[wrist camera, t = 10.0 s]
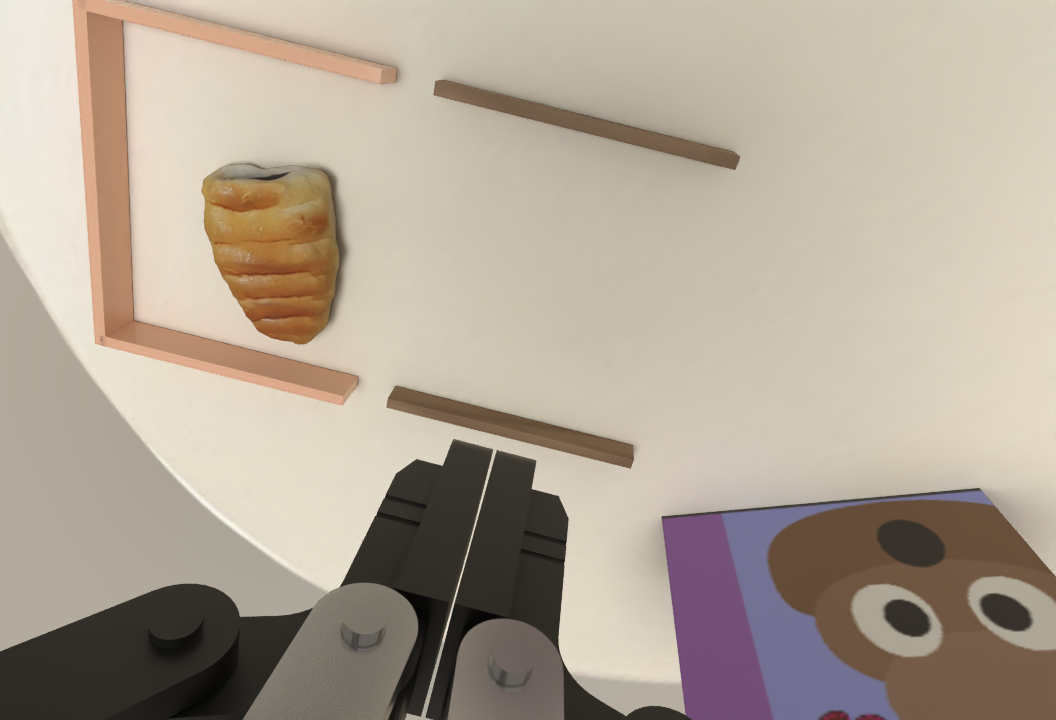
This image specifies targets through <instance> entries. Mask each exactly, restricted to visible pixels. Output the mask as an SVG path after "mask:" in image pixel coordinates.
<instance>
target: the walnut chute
mask: <svg viewBox="0 0 1056 720" xmlns="http://www.w3.org/2000/svg"><path fill="white" fill-rule="evenodd" d="M434 95H435V96H439V97H443V98H447V99H451V100H455V101H460V102H464V103H468V104H472V105H476V106H480V107H484V108H488V109H492V110H496V111H500V112H504V113H508V114H512V115H516V116H520V117H524V118H528V119H532V120H536V121H540V122H544V123H548V124H552V125H556V126H560V127H564V128H568V129H572V130H576V131H580V132H584V133H588V134H592V135H596V136H600V137H604V138H608V139H612V140H617V141H621V142H625V143H629V144H633V145H637V146H641V147H645V148H649V149H653V150H657V151H661V152H665V153H669V154H673V155H677V156H681V157H685V158H689V159H693V160H697V161H701V162H705V163H709V164H713V165H717V166H721V167H725V168H729V169H733V170H735V169H736V167H737V164H738V161H739V158H740V156H739V155H737V154H736V153H735V152H731V151H727V150H723V149H719V148H715V147H711V146H707V145H703V144H699V143H695V142H691V141H687V140H683V139H679V138H675V137H671V136H667V135H663V134H659V133H655V132H651V131H647V130H643V129H639V128H635V127H631V126H627V125H623V124H619V123H615V122H611V121H607V120H603V119H599V118H594V117H590V116H586V115H582V114H578V113H574V112H570V111H566V110H562V109H558V108H554V107H550V106H546V105H542V104H538V103H534V102H530V101H526V100H522V99H518V98H514V97H510V96H506V95H502V94H498V93H494V92H490V91H486V90H482V89H478V88H474V87H470V86H466V85H462V84H458V83H454V82H450V81H445V80H439V81H435V88H434ZM386 408H390V409H394V410H398V411H402V412H406V413H410V414H414V415H418V416H422V417H426V418H430V419H434V420H438V421H442V422H446V423H450V424H454V425H458V426H462V427H466V428H470V429H474V430H478V431H483V432H487V433H491V434H495V435H499V436H503V437H507V438H511V439H515V440H519V441H523V442H527V443H531V444H535V445H539V446H543V447H547V448H551V449H555V450H559V451H563V452H567V453H571V454H575V455H579V456H583V457H587V458H591V459H595V460H599V461H603V462H607V463H611V464H615V465H619V466H623V467H627V468H631V466H632V463H633V461H634V456H633V445H629V444H625V443H621V442H617V441H613V440H609V439H605V438H601V437H597V436H593V435H589V434H585V433H581V432H577V431H573V430H569V429H565V428H561V427H557V426H553V425H549V424H545V423H541V422H537V421H533V420H529V419H525V418H521V417H517V416H513V415H509V414H505V413H501V412H497V411H493V410H489V409H485V408H481V407H477V406H473V405H469V404H465V403H461V402H457V401H453V400H449V399H445V398H441V397H437V396H433V395H429V394H425V393H421V392H417V391H413V390H409V389H405V388H401V387H397V386H395V388H394V389H393V391H392V393H391V394H390V396H389V397H388V401H387V407H386Z"/></svg>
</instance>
